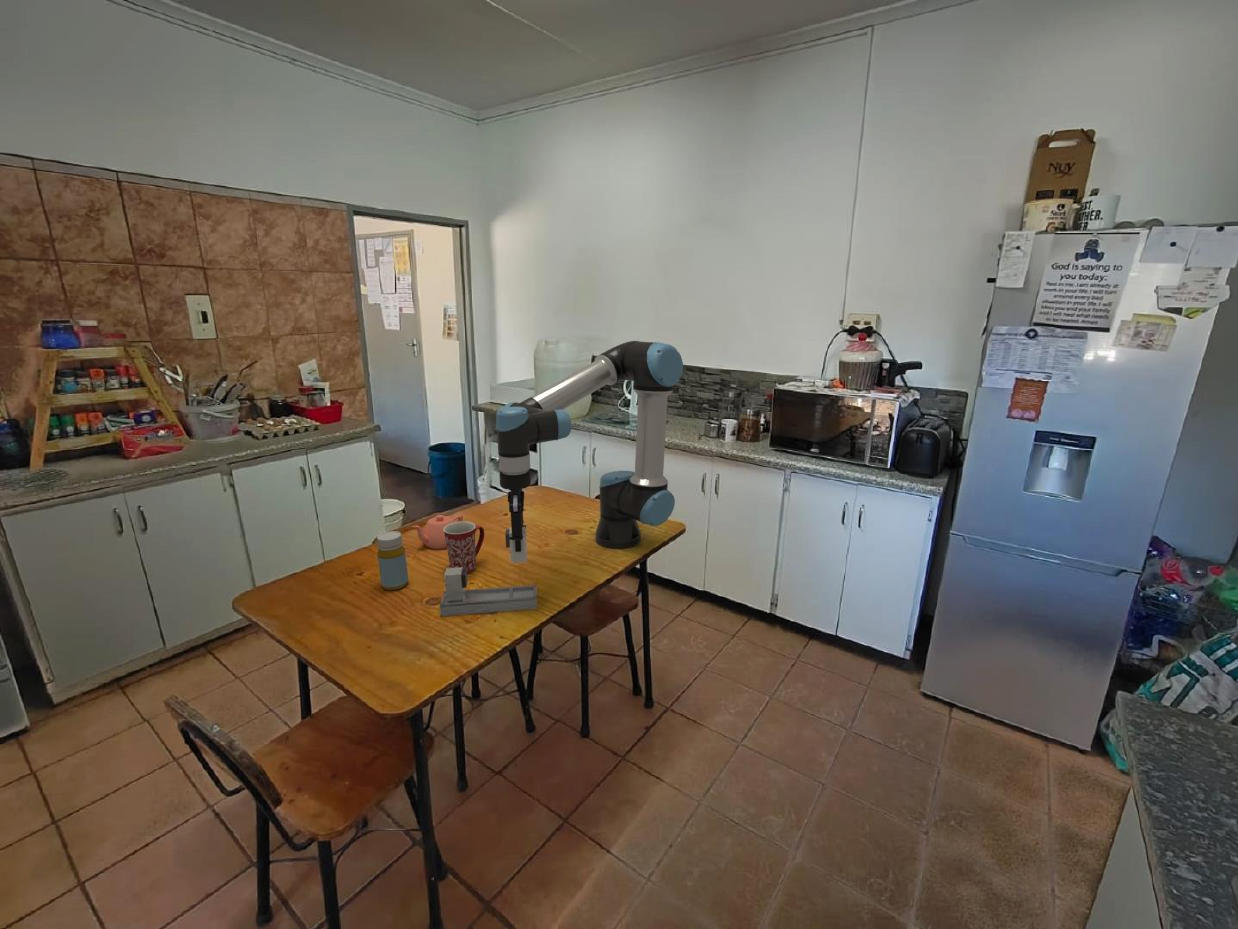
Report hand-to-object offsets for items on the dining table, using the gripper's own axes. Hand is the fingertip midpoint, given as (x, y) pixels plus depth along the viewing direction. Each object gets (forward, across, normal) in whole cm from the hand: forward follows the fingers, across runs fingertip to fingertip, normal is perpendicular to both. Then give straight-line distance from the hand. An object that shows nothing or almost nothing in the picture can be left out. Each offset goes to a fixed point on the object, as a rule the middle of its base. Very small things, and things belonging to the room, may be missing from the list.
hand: (519, 557), depth 143 cm
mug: (+13, -22, -16) cm, 31 cm away
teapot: (+13, -41, -28) cm, 51 cm away
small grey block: (0, 0, 0) cm, 0 cm away
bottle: (+13, -14, -35) cm, 40 cm away
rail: (+13, +1, -8) cm, 15 cm away
